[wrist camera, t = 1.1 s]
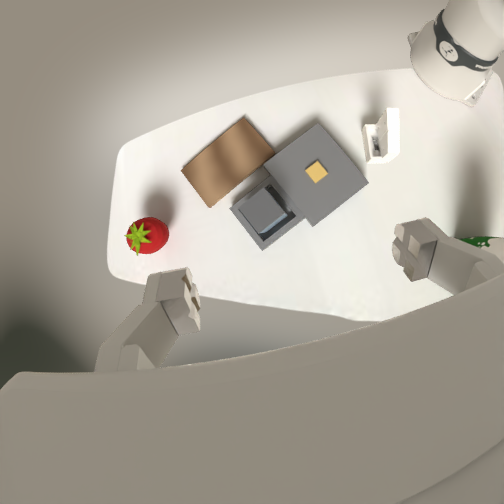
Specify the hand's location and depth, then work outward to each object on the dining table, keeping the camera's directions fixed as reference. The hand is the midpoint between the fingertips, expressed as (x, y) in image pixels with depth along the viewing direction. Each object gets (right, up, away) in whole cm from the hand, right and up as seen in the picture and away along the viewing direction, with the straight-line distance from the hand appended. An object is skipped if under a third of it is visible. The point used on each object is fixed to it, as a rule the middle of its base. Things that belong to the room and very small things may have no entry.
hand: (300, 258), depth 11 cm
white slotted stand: (+18, +18, +31) cm, 40 cm away
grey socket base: (+5, +10, +34) cm, 36 cm away
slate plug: (+1, +6, +35) cm, 36 cm away
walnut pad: (-6, +15, +36) cm, 39 cm away
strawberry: (-18, +3, +39) cm, 43 cm away
